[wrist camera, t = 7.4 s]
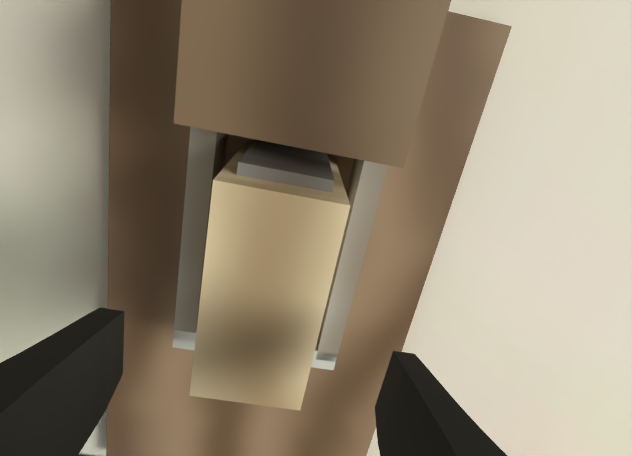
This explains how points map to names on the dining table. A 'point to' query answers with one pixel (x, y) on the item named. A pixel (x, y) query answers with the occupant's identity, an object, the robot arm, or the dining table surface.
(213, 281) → the beige pillar with cap
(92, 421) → the robot arm
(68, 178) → the dining table surface
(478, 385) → the dining table surface
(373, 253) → the post board
